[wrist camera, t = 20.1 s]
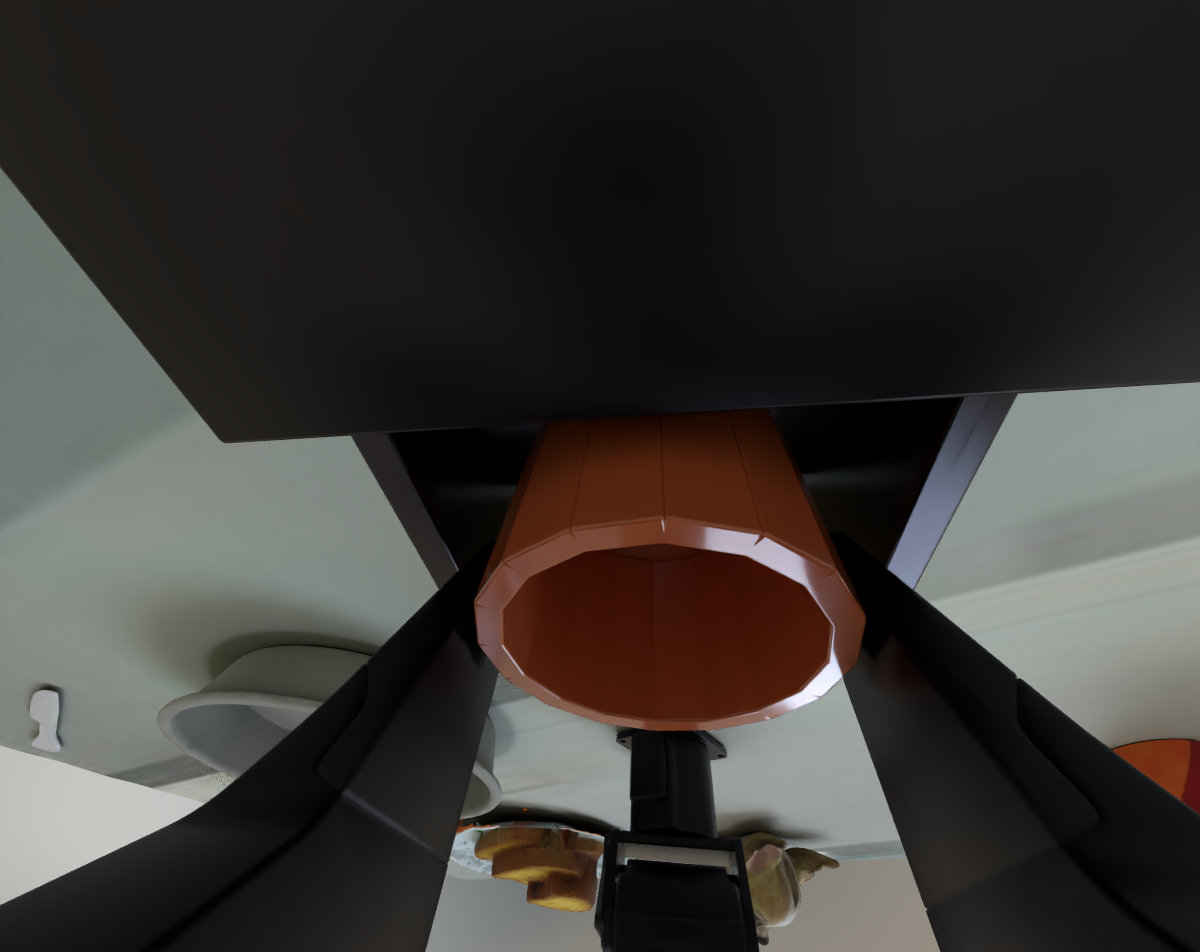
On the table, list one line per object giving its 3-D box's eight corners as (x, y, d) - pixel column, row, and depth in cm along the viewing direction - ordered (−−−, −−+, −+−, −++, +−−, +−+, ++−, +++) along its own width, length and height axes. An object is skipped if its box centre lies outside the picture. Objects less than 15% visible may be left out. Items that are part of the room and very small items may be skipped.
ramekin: (823, 501, 11) (915, 693, 7) (625, 579, 14) (616, 749, 10) (704, 297, 8) (753, 438, 5) (484, 446, 11) (396, 613, 7)
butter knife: (27, 745, 49) (58, 754, 50) (27, 687, 37) (68, 699, 38) (31, 741, 50) (61, 750, 51) (33, 682, 38) (73, 694, 39)
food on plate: (415, 799, 51) (389, 873, 46) (619, 809, 47) (615, 891, 42) (488, 852, 67) (475, 911, 62) (647, 863, 62) (647, 928, 57)
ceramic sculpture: (675, 943, 44) (801, 929, 37) (667, 835, 51) (773, 806, 44) (742, 956, 48) (868, 946, 41) (726, 855, 55) (832, 831, 47)
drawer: (815, 528, 17) (888, 703, 12) (519, 535, 19) (470, 690, 14) (956, -9, 8) (1507, -263, 3) (369, 100, 10) (61, 65, 5)
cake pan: (128, 626, 30) (59, 692, 26) (464, 632, 26) (436, 709, 23) (312, 758, 45) (284, 811, 41) (540, 773, 42) (530, 832, 38)
